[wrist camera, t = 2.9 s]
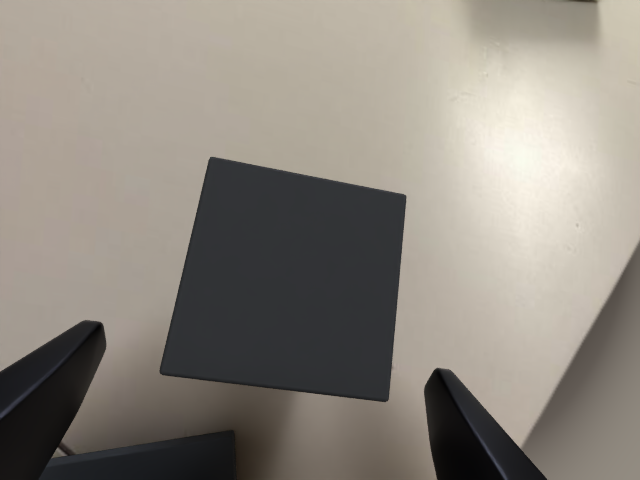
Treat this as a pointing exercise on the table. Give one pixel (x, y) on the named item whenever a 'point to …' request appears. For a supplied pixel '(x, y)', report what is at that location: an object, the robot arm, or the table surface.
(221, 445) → the base pad
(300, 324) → the dark grey square block
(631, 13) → the table surface
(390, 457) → the table surface
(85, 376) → the robot arm
